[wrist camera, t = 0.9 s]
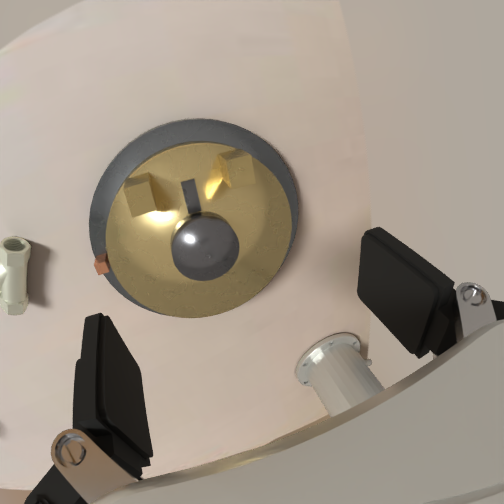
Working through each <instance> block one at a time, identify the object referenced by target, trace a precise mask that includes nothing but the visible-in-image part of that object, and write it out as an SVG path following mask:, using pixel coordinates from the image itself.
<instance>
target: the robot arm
mask: <svg viewBox="0 0 504 504" xmlns="http://www.w3.org/2000/svg"><path fill="white" fill-rule="evenodd" d="M453 286H454V281H452V280H451V279H450V278H449V277H447V276H446V275H445V274H443V273H442V272H441V271H440V270H438V269H437V268H436V267H434V266H433V265H432V264H431V263H429V262H428V261H427V260H425V259H424V258H423V257H421V256H420V255H419V254H417V253H416V252H415V251H413V250H412V249H410V248H409V247H408V246H406V245H405V244H404V243H402V242H401V241H399V240H398V239H396V238H395V237H394V236H392V235H391V234H390V233H388V232H387V231H385V230H384V229H382V228H380V227H376V228H373V229H370V230H367V231H366V232H365V233H364V236H363V237H362V240H361V254H360V266H359V277H358V288H357V293H358V296H359V298H360V300H361V301H362V302H363V303H364V304H365V305H366V306H367V307H368V308H369V309H370V310H371V311H372V312H373V313H374V314H375V315H376V317H378V318H379V320H380V321H381V322H382V323H383V324H384V325H385V326H386V327H387V328H388V329H389V331H390V332H391V333H392V334H393V335H394V336H395V337H396V338H397V339H398V340H399V341H400V342H401V344H402V345H403V346H404V347H405V348H406V349H407V350H408V351H409V352H410V353H411V354H415V355H416V356H417V357H418V358H419V359H420V358H421V357H423V356H424V355H426V354H427V353H429V351H430V350H431V351H432V352H433V360H432V361H431V362H429V363H428V364H426V365H425V366H423V367H421V368H420V369H418V370H417V371H415V372H414V373H412V374H410V375H409V376H407V377H406V378H404V379H402V380H401V381H399V382H397V383H396V384H394V385H392V386H391V387H389V388H387V389H384V387H383V386H382V385H381V383H380V382H379V381H378V380H377V378H376V377H375V376H374V374H373V373H372V372H371V371H370V369H369V368H368V367H367V366H370V365H371V364H372V361H371V359H363V358H362V357H361V355H360V354H359V352H360V343H359V340H358V339H357V338H356V337H355V336H354V335H352V334H349V333H340V334H335V335H332V336H330V337H327V338H325V339H323V340H322V341H320V342H318V343H317V344H315V345H314V346H313V347H311V348H310V349H309V350H308V351H307V352H306V353H305V354H304V355H303V357H302V358H301V359H300V361H299V363H298V365H297V367H296V377H297V379H298V381H299V382H300V383H301V384H302V385H305V386H311V387H313V388H314V390H315V392H316V393H317V395H318V397H319V398H320V400H321V402H322V403H323V405H324V406H325V408H326V410H327V411H328V413H329V415H330V416H331V418H330V419H328V420H325V421H323V422H321V423H319V424H317V425H314V426H312V427H310V428H307V429H305V430H303V431H301V432H298V433H296V434H293V435H291V436H288V437H286V438H283V439H281V440H278V441H276V442H273V443H270V444H267V445H265V446H262V447H259V448H256V449H253V450H250V451H247V452H244V453H241V454H238V455H235V456H232V457H228V458H225V459H222V460H218V461H215V462H211V463H208V464H204V465H201V466H197V467H193V468H189V469H185V470H181V471H177V472H173V473H168V474H164V475H160V476H156V477H152V478H148V479H144V478H143V477H141V475H142V474H143V473H142V468H141V467H146V466H151V464H150V459H149V458H150V457H153V450H152V444H151V439H150V433H149V427H148V421H147V415H146V408H145V401H144V393H143V385H142V377H141V371H140V368H139V366H138V364H137V363H136V361H135V359H134V358H133V356H132V355H131V353H130V351H129V350H128V348H127V346H126V345H125V343H124V341H123V340H122V338H121V336H120V335H119V333H118V331H117V329H116V328H115V326H114V324H113V322H112V321H111V319H110V317H109V316H104V315H103V314H102V313H98V314H95V315H91V316H88V317H86V318H85V323H84V331H83V340H82V349H81V359H78V360H77V362H76V368H75V380H74V397H73V429H67V430H65V431H62V432H61V433H60V434H58V435H57V437H56V438H55V439H54V441H53V444H52V446H51V457H52V461H53V462H54V465H53V466H52V467H51V469H50V470H49V471H48V472H47V474H46V475H45V476H44V477H43V478H42V480H41V481H40V482H39V483H38V485H37V486H36V487H35V488H34V490H33V491H32V492H31V493H30V495H29V496H28V497H27V499H26V500H25V503H24V504H504V302H502V301H494V300H491V299H490V296H489V294H488V292H487V291H486V290H485V289H484V288H483V287H481V286H480V285H478V284H475V283H470V282H469V283H468V282H467V283H462V284H460V285H459V286H458V287H457V289H456V290H455V289H453Z"/></svg>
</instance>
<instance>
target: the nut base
mask: <svg viewBox="0 0 504 504" xmlns="http://www.w3.org/2000/svg"><path fill="white" fill-rule="evenodd" d="M189 141H213V142H219V143H223V144H227V145H230V146H232V147H235V148H237V149H242V150H244V151H246V152H247V153H249V154H251V156H252V157H253V158H255V159H257V160H258V161H260V162H261V163H262V164H263V165H265V166H266V167H267V168H268V169H269V170H270V171H271V172H272V173H273V174H274V176H275V177H276V178H277V180H278V181H279V183H280V184H281V186H282V188H283V190H284V192H285V194H286V196H287V199H288V202H289V206H290V211H291V219H292V230H291V238H290V243H289V247H288V250H287V253H286V256H285V258H284V260H283V262H282V264H283V263H284V261H285V259H286V257H287V255H288V253H289V251H290V249H291V246H292V244H293V241H294V238H295V234H296V229H297V223H298V200H297V193H296V189H295V186H294V182H293V179H292V177H291V175H290V173H289V171H288V168H287V167H286V165H285V164H284V162H283V161H282V159H281V158H280V156H279V155H278V154H277V153H276V152H275V151H274V149H273V148H272V147H271V146H270V145H268V144H267V143H266V142H265V141H264V140H262V139H261V138H260V137H258V136H257V135H255V134H253V133H252V132H250V131H248V130H246V129H244V128H241V127H239V126H237V125H234V124H231V123H227V122H223V121H219V120H213V119H203V118H197V119H183V120H178V121H172V122H169V123H166V124H163V125H160V126H157V127H155V128H153V129H151V130H149V131H147V132H145V133H143V134H141V135H140V136H138V137H137V138H136V139H134V140H133V141H131V142H130V143H129V144H128V145H127V146H125V147H124V148H123V149H122V150H121V151H120V152H119V153H118V154H117V156H116V157H115V158H114V159H113V160H112V162H111V163H110V164H109V166H108V167H107V169H106V171H105V172H104V174H103V176H102V177H101V179H100V181H99V183H98V186H97V188H96V191H95V193H94V196H93V200H92V204H91V208H90V218H89V233H90V240H91V246H92V250H93V253H94V256H95V258H96V259H95V263H94V266H95V268H96V271H97V273H98V275H101V274H104V276H105V277H106V278H107V280H108V281H109V282H110V284H111V285H112V286H113V287H114V288H115V289H116V290H117V291H118V292H119V293H120V294H122V295H123V296H124V297H125V298H127V299H128V300H130V301H131V302H133V303H134V304H136V305H138V306H140V307H142V308H144V309H147V310H149V311H152V312H155V313H158V314H162V313H159V312H157V311H154V310H152V309H150V308H148V307H146V306H144V305H143V304H141V303H139V302H138V301H137V300H136V299H134V298H133V297H132V296H131V295H130V294H129V293H128V292H127V291H126V290H125V289H124V288H123V287H122V285H121V284H120V282H119V281H118V280H117V278H116V276H115V274H114V272H113V270H112V268H111V265H110V262H109V259H108V255H107V250H106V227H107V221H108V217H109V213H110V209H111V206H112V203H113V200H114V198H115V196H116V193H117V191H118V189H119V188H120V186H121V184H122V183H123V181H124V180H125V178H126V177H127V176H128V175H129V174H130V172H131V171H132V170H133V169H134V168H135V167H136V166H137V165H138V164H140V163H141V162H142V161H143V160H145V159H146V158H147V157H149V156H150V155H152V154H153V153H155V152H157V151H159V150H162V149H164V148H166V147H169V146H172V145H175V144H178V143H183V142H189ZM282 264H281V266H282ZM281 266H280V267H281ZM279 269H280V268H279ZM279 269H278V270H279ZM277 272H278V271H277ZM277 272H276V273H277ZM162 315H166V314H162ZM168 316H169V315H168ZM174 317H175V316H174Z"/></svg>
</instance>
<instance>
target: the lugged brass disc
mask: <svg viewBox="0 0 504 504" xmlns="http://www.w3.org/2000/svg"><path fill="white" fill-rule="evenodd" d="M291 230H292V219H291V211H290V206H289V202H288V199H287V196H286V194H285V192H284V190H283V188H282V186H281V184H280V183H279V181H278V180H277V178H276V177H275V176H274V174H273V173H272V172H271V171H270V170H269V169H268V168H267V167H266V166H265V165H263V164H262V163H261V162H260V161H258V160H257V159H255V158H253V157H252V156H251V154H249V153H247V152H246V151H244V150H242V149H237V148H235V147H232V146H230V145H227V144H223V143H219V142H213V141H189V142H183V143H178V144H175V145H172V146H169V147H166V148H164V149H162V150H159V151H157V152H155V153H153V154H152V155H150V156H149V157H147V158H146V159H145V160H143V161H142V162H141V163H140V164H138V165H137V166H136V167H135V168H134V169H133V170H132V171H131V172H130V174H129V175H128V176H127V177H126V178H125V180H124V181H123V183H122V184H121V186H120V188H119V189H118V191H117V193H116V196H115V198H114V200H113V203H112V206H111V209H110V213H109V217H108V221H107V227H106V250H107V255H108V259H109V262H110V265H111V268H112V270H113V272H114V274H115V276H116V278H117V280H118V281H119V282H120V284H121V285H122V287H123V288H124V289H125V290H126V291H127V292H128V293H129V294H130V295H131V296H132V297H133V298H134V299H136V300H137V301H138V302H139V303H141V304H143V305H144V306H146V307H148V308H150V309H152V310H154V311H157V312H159V313H162V314H166V315H169V316H175V317H182V318H201V317H208V316H213V315H217V314H221V313H224V312H226V311H229V310H232V309H234V308H236V307H238V306H240V305H242V304H243V303H245V302H247V301H248V300H250V299H251V298H253V297H254V296H255V295H256V294H258V293H259V292H260V291H261V290H262V289H263V288H264V287H265V286H266V285H267V284H268V283H269V282H270V281H271V279H272V278H273V277H274V275H275V274H276V272H277V271H278V269H279V268H280V266H281V264H282V262H283V260H284V258H285V256H286V253H287V250H288V247H289V243H290V238H291Z"/></svg>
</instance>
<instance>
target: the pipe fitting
mask: <svg viewBox="0 0 504 504" xmlns="http://www.w3.org/2000/svg"><path fill="white" fill-rule="evenodd" d="M30 253H31V245H30V244H29V243H28V242H27V241H26V240H25V239H23V238H20V237H7V238H5V239H3V240H2V241H1V243H0V292H1V293H0V306H1V308H2V309H3V310H4V311H5V312H6V313H7V314H8V315H21V314H23V313H24V312H25V310H26V308H27V306H28V296H29V295H28V294H27V293H26V285H27V262H28V260H29V258H30Z"/></svg>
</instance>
